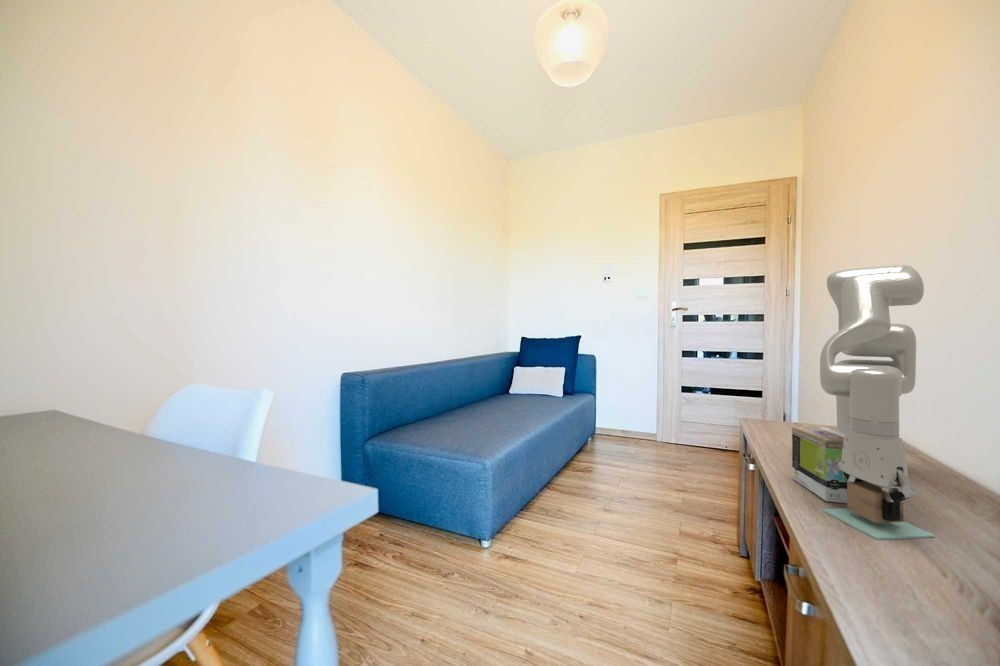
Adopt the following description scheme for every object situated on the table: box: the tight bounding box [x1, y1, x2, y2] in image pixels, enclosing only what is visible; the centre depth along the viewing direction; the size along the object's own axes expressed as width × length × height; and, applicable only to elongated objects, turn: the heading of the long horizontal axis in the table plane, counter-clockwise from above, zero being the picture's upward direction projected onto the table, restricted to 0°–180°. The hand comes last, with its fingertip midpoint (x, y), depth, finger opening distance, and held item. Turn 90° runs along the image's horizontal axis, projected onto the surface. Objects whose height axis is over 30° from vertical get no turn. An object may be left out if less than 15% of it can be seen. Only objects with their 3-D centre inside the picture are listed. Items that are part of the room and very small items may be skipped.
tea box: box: [791, 426, 848, 504], centre depth 97 cm, size 15×10×15 cm, turn 168°
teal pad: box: [821, 507, 936, 541], centre depth 81 cm, size 12×12×1 cm
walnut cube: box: [846, 481, 904, 523], centre depth 81 cm, size 6×6×6 cm
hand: (874, 511), depth 81 cm, fingers closed on walnut cube, 6 cm apart
